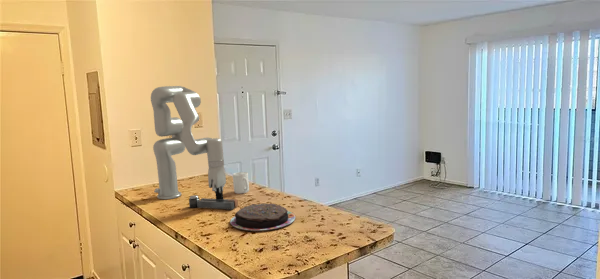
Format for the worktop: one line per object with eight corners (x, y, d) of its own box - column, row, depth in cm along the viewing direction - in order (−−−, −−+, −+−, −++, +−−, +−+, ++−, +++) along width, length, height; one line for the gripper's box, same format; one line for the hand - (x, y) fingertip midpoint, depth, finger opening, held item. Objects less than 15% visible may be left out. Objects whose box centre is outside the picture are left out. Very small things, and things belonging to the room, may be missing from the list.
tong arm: (188, 206, 199) (188, 197, 198) (194, 203, 203) (193, 194, 203) (233, 208, 192) (232, 199, 191) (237, 205, 196) (237, 196, 196)
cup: (245, 188, 230) (243, 171, 228) (254, 193, 220) (253, 174, 218) (231, 191, 225) (230, 173, 224) (240, 195, 215) (239, 177, 214)
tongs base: (186, 208, 198) (186, 200, 197) (193, 204, 203) (192, 197, 203) (231, 210, 191) (231, 202, 190) (237, 206, 196) (236, 198, 195)
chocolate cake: (307, 215, 179) (306, 201, 178) (271, 237, 155) (270, 221, 154) (256, 208, 193) (255, 195, 192) (216, 227, 170) (215, 212, 169)
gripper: (216, 161, 206) (220, 196, 208) (201, 167, 192) (205, 204, 194) (229, 160, 204) (233, 196, 206) (215, 166, 190) (219, 204, 192)
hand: (219, 200), depth 200 cm, fingers closed
